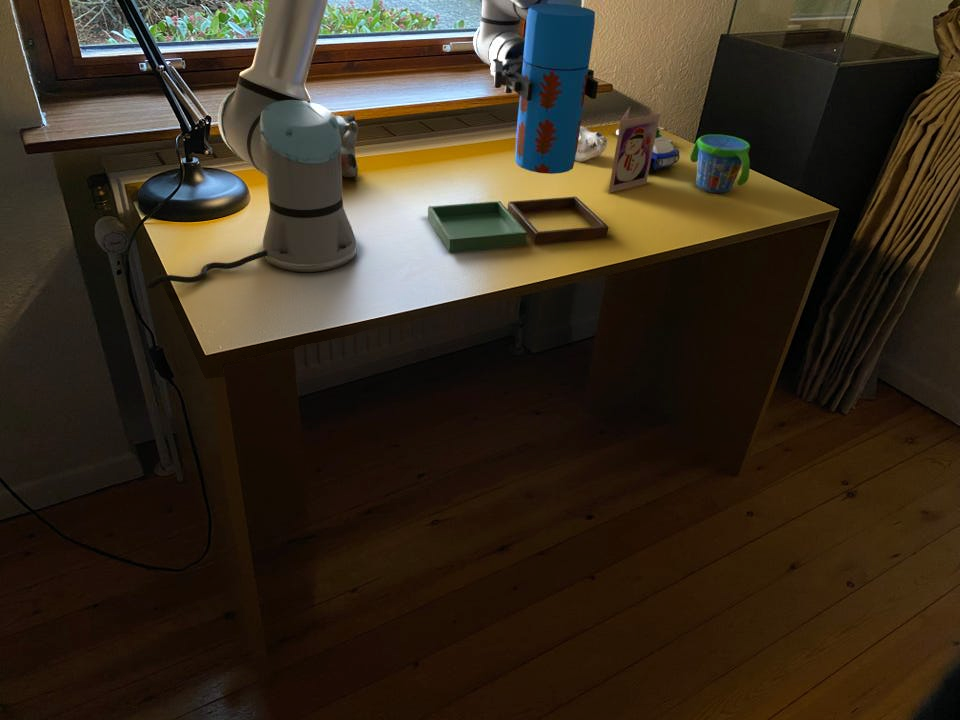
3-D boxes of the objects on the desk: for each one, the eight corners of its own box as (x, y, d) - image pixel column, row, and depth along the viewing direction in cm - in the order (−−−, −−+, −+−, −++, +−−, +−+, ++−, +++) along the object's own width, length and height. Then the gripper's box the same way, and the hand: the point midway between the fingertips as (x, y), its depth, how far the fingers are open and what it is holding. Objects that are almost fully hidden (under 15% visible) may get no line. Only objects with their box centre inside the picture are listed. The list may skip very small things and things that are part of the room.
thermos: (571, 177, 125) (593, 18, 111) (509, 169, 127) (523, 11, 113) (577, 157, 134) (598, 7, 120) (519, 149, 136) (533, 1, 121)
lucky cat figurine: (279, 174, 150) (285, 105, 149) (327, 185, 159) (333, 120, 158) (322, 174, 141) (330, 99, 139) (371, 185, 150) (378, 116, 148)
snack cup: (672, 176, 164) (682, 131, 158) (712, 173, 167) (723, 128, 161) (713, 204, 152) (725, 155, 146) (755, 199, 155) (769, 152, 149)
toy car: (654, 177, 162) (663, 135, 157) (613, 161, 170) (620, 120, 164) (680, 170, 167) (689, 128, 162) (639, 154, 175) (646, 114, 169)
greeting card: (611, 194, 153) (623, 122, 144) (587, 182, 158) (597, 111, 149) (649, 184, 159) (663, 114, 150) (624, 173, 163) (636, 105, 155)
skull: (569, 135, 175) (604, 110, 165) (583, 170, 175) (618, 146, 165) (546, 138, 170) (581, 112, 161) (560, 174, 170) (596, 150, 160)
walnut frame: (534, 244, 131) (536, 233, 130) (507, 212, 142) (508, 201, 141) (607, 237, 135) (609, 226, 134) (574, 206, 146) (576, 196, 145)
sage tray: (449, 252, 126) (449, 239, 125) (427, 218, 137) (428, 206, 136) (525, 245, 131) (527, 232, 129) (499, 213, 141) (500, 200, 140)
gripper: (570, 78, 142) (622, 112, 125) (454, 80, 135) (493, 116, 118) (575, 37, 138) (630, 66, 121) (456, 37, 131) (497, 68, 114)
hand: (563, 91), depth 120 cm, fingers closed on thermos, 11 cm apart
